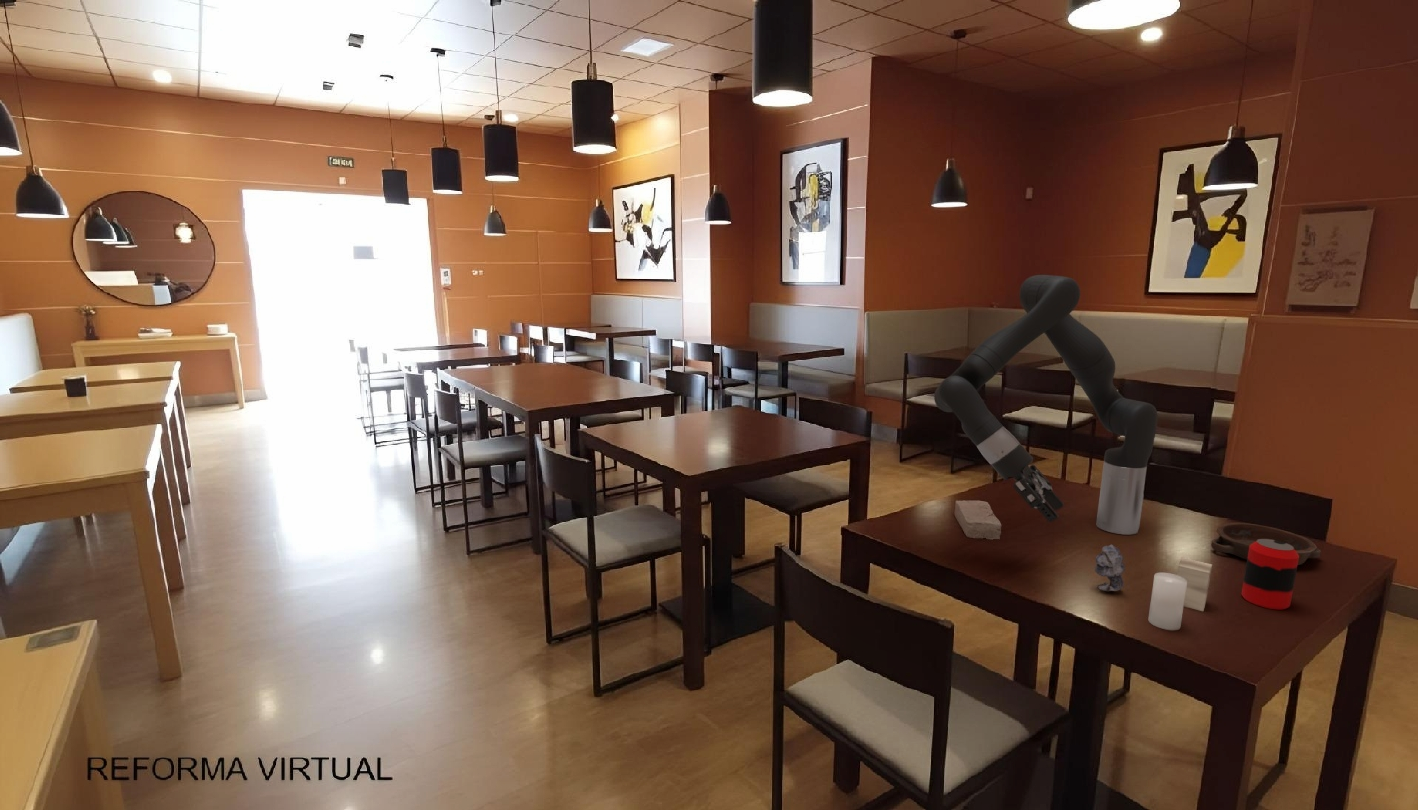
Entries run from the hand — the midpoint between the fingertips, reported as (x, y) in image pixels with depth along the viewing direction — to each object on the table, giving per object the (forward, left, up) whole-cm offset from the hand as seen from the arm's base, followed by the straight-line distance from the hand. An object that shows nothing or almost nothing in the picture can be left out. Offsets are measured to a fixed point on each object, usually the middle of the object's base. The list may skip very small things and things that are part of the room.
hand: (1057, 513), depth 143 cm
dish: (-54, +17, -15) cm, 58 cm away
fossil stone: (-5, +10, -15) cm, 18 cm away
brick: (-10, -28, -15) cm, 33 cm away
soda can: (-28, +28, -15) cm, 42 cm away
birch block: (-14, +21, -14) cm, 29 cm away
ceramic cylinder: (-1, +23, -14) cm, 27 cm away
